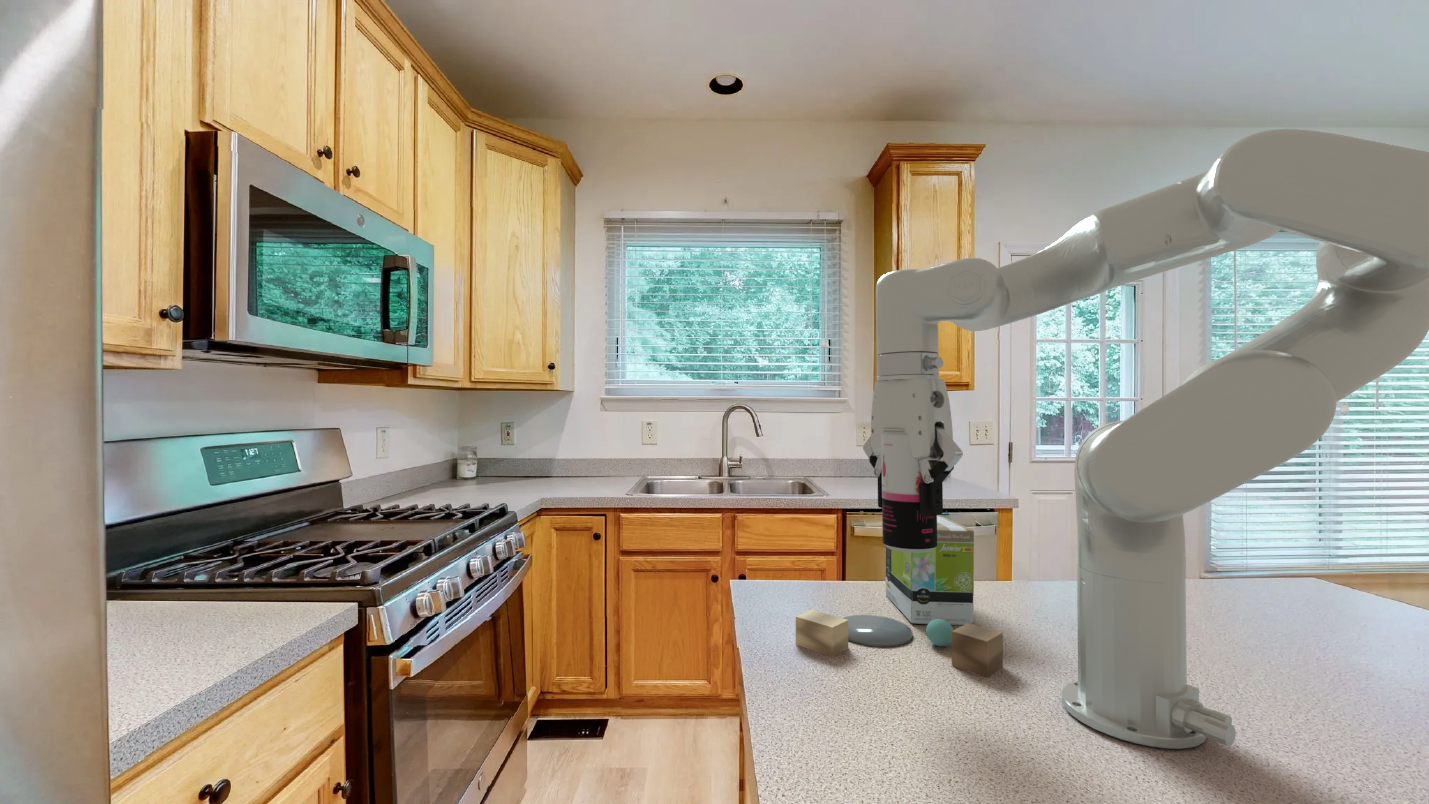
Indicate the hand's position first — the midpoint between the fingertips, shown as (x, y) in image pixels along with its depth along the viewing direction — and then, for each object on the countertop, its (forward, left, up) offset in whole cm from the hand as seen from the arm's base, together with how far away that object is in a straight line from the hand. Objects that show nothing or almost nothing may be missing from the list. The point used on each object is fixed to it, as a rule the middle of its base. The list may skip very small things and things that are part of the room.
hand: (909, 509), depth 74 cm
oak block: (+11, +5, -20) cm, 24 cm away
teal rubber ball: (+4, -10, -18) cm, 21 cm away
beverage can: (0, 0, -5) cm, 5 cm away
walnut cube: (-3, -9, -20) cm, 22 cm away
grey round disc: (+12, -5, -20) cm, 24 cm away
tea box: (+16, -20, -20) cm, 33 cm away
